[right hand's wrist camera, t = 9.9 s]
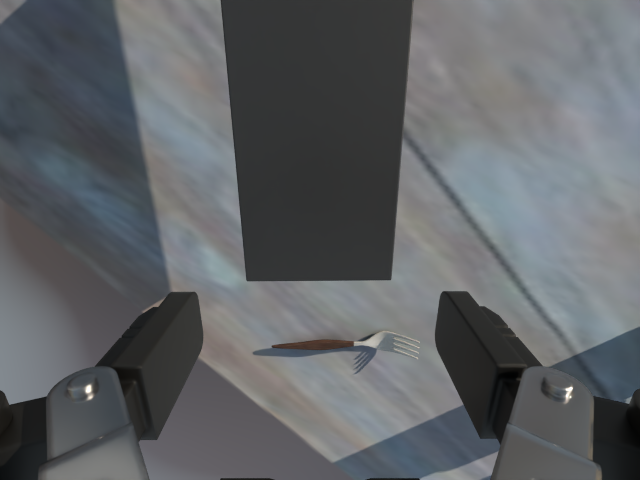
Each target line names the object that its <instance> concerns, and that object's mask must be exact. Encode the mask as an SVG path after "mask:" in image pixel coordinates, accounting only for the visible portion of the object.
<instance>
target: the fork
mask: <svg viewBox="0 0 640 480" xmlns="http://www.w3.org/2000/svg"><path fill="white" fill-rule="evenodd" d="M394 337H400V338H404V339H408V340H411V341H415V342H418V343H420V342H419V341H416V340H414V339H411V338H408V337H405V336H402V335H399V334H396V333H393V332H389V331H382V332H379V333H376V334H375V335H373V336H372V337H370V338H369V339H367V340H365V341H361V342H355V341H341V340H314V341H306V342H298V343H287V344H278V345H273V346H272V348H283V349H307V350H328V349H336V348H343V347H350V346H359V345H365V346H369V347H373V348H376V349H379V350H384V351H390V352H396V353H400V354H403V355H407V356H410V357H413V358H416V359H418V358H417V357H415V356H412V355H410V354H407V353H404V352H402V351H399V350H396V349H394V348H393V347H396V348H401V349H404V350H408V351H411V352H414V353H417V354H419V353H418V352H416V351H413V350H411V349H408V348H405V347H403V346H400V345H397V344H395V343H394V342H398V343H402V344H406V345H409V346H413V347H416V348H419V347H417V346H415V345H412V344H409V343H407V342H404V341H401V340H398V339H395V338H394Z"/></svg>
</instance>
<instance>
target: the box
mask: <svg viewBox="0 0 640 480" xmlns="http://www.w3.org/2000/svg"><path fill="white" fill-rule="evenodd" d="M413 2H414V0H221V8H222V19H223V30H224V41H225V52H226V62H227V73H228V84H229V95H230V106H231V117H232V128H233V139H234V149H235V160H236V171H237V182H238V193H239V204H240V215H241V226H242V237H243V247H244V258H245V269H246V280H247V281H339V280H391V276H392V264H393V252H394V239H395V227H396V214H397V202H398V189H399V177H400V164H401V152H402V139H403V127H404V114H405V102H406V89H407V77H408V65H409V52H410V40H411V27H412V15H413Z"/></svg>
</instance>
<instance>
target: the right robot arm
mask: <svg viewBox="0 0 640 480" xmlns="http://www.w3.org/2000/svg"><path fill="white" fill-rule="evenodd" d="M435 342H436V347H437V350H438V353H439V355H440V357H441V359H442V361H443V363H444V365H445V367H446V369H447V371H448V373H449V375H450V377H451V379H452V381H453V383H454V385H455V388H456V390H457V392H458V394H459V396H460V398H461V400H462V402H463V404H464V406H465V408H466V410H467V412H468V414H469V416H470V418H471V420H472V422H473V424H474V427H475V429H476V431H477V433H478V435H479V437H480V439H498V441H499V443H500V445H501V446H500V449H499V452H498V456H497V459H496V463H495V466H494V469H493V473H492V476H491V479H490V480H640V389H638V390H636V391H635V392H634V394H633V396H632V399H631V401H630V404H627V403H622V402H618V401H613V400H609V399H604V398H600V397H595V396H593V395H592V393H591V392H590V390H589V389H588V388H587V387H586V386H585V385H584V384H583V383H582V382H580V381H579V380H578V379H576V378H574V377H573V376H571V375H569V374H567V373H565V372H563V371H560V370H557V369H554V368H550V367H544V366H542V365H541V363H540V362H539V361H538V360H537V359H536V358H535V356H534V355H533V354H532V353H531V352H530V351H529V350H528V348H527V347H526V346H525V345H524V344H523V343H522V342H521V340H520V339H519V338H518V337H516V335H515V333H514V332H513V331H512V330H511V329H510V328H508V325H507V324H506V323H505V322H504V321H503V320H502V318H501V317H500V316H499V315H497V314H496V313H494V312H493V311H491V310H489V309H488V308H486V307H485V306H479V305H478V304H477V303H476V301H475V300H474V299H473V298H472V296H471V295H470V294H469V293H468V292H466V291H443V292H442V293H441V296H440V300H439V308H438V315H437V322H436V329H435ZM202 344H203V328H202V321H201V314H200V307H199V300H198V296H197V294H196V292H171V293H169V295H168V296H167V297H166V298H165V299H164V301H163V302H162V303H161V304H160V306H159V307H153V308H151V309H149V310H148V311H146V312H145V313H143V314H142V315H140V316H139V317H138V318H137V319H136V320H135V321H134V322H133V323H132V325H131V326H130V328H129V329H127V330H126V331H125V333H124V334H123V335H122V338H119V339H118V341H117V342H116V343H115V344H114V345H113V346H112V347H111V349H110V350H109V351H108V352H107V353H106V354H105V355H104V357H103V358H102V359H101V360H100V361H99V362H98V363H97V365H96V366H95V367H90V368H86V369H83V370H80V371H77V372H75V373H73V374H71V375H69V376H67V377H66V378H64V379H63V380H61V381H60V382H58V383H57V384H56V385H55V386H54V387H53V388H52V389H51V390H50V392H49V393H48V395H47V396H46V397H43V398H38V399H34V400H30V401H25V402H20V403H16V404H11V405H9V403H8V401H7V399H6V396H5V394H4V393H3V392H2V391H0V480H150V479H149V476H148V473H147V469H146V466H145V463H144V459H143V456H142V453H141V449H140V446H139V441H140V440H157V439H158V437H159V435H160V433H161V431H162V429H163V427H164V425H165V423H166V421H167V419H168V417H169V415H170V413H171V410H172V408H173V406H174V404H175V402H176V400H177V398H178V396H179V394H180V392H181V390H182V388H183V386H184V384H185V382H186V380H187V378H188V376H189V374H190V372H191V370H192V368H193V366H194V364H195V362H196V360H197V358H198V356H199V354H200V352H201V349H202ZM220 480H273V479H270V478H221V479H220ZM367 480H420V479H419V478H370V479H367Z"/></svg>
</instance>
